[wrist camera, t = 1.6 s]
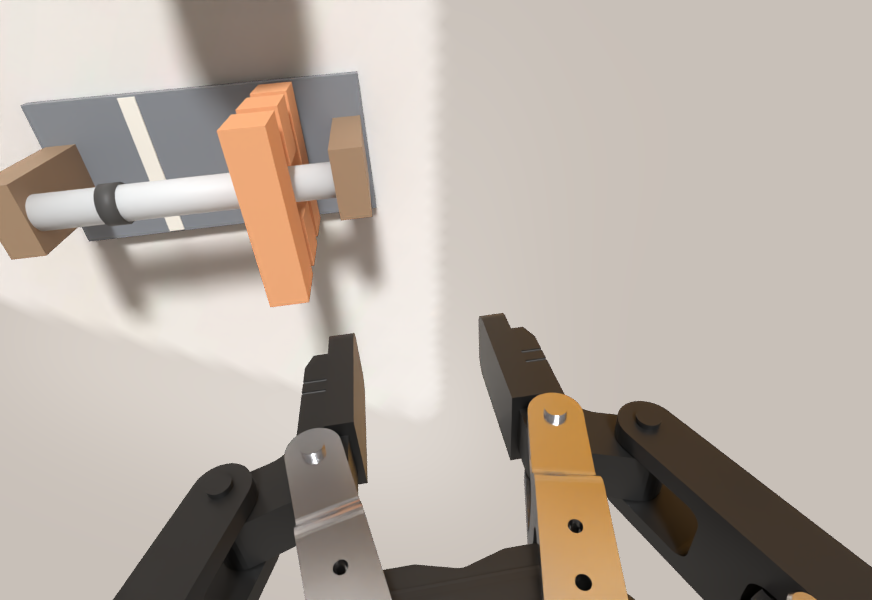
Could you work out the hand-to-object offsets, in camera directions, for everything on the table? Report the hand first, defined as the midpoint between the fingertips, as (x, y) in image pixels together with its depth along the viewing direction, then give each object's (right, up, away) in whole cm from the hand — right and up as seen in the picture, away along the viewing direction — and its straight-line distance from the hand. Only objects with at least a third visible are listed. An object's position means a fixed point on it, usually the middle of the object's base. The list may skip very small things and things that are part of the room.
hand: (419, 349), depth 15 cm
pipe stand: (-14, +11, +18) cm, 26 cm away
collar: (-9, +11, +18) cm, 23 cm away
